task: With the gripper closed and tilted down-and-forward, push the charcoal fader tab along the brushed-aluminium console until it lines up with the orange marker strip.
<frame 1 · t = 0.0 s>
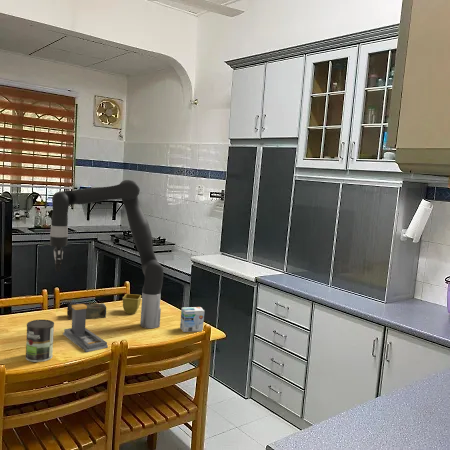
hand: (57, 269, 213), 29 cm above the table, tool pointing down, fingers open, 8 cm apart
beverage carton: (86, 317, 240), on the table
flower pot: (131, 312, 252), on the table
light bulb box: (191, 329, 232), on the table
coffee can: (39, 357, 186), on the table
fader console: (84, 340, 206), on the table
fader tab: (78, 319, 210), point 8 cm above the table, slide at -7.0 cm
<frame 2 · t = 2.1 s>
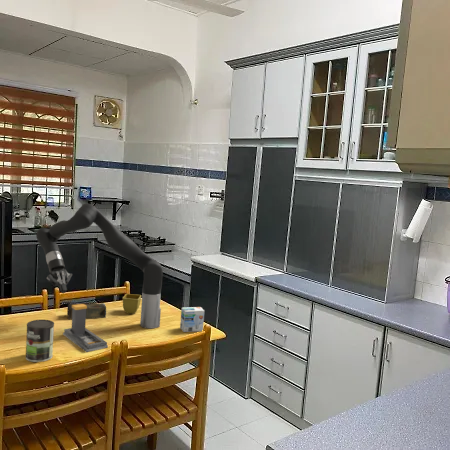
hand: (64, 292, 221), 17 cm above the table, tool tilted 45°, fingers closed
nothing on the table moved.
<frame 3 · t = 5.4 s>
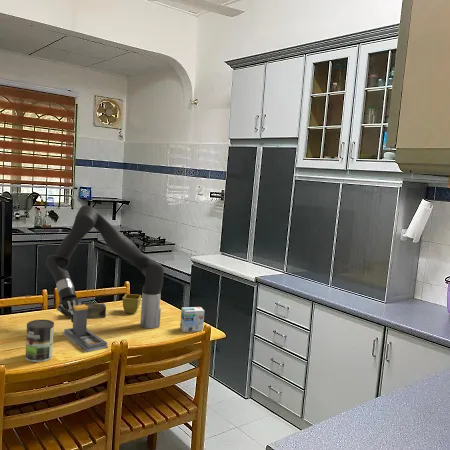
hand: (75, 322, 211), 6 cm above the table, tool tilted 45°, fingers closed
fader tab: (79, 320, 210), point 8 cm above the table, slide at -5.8 cm, touching gripper
everything else where it was.
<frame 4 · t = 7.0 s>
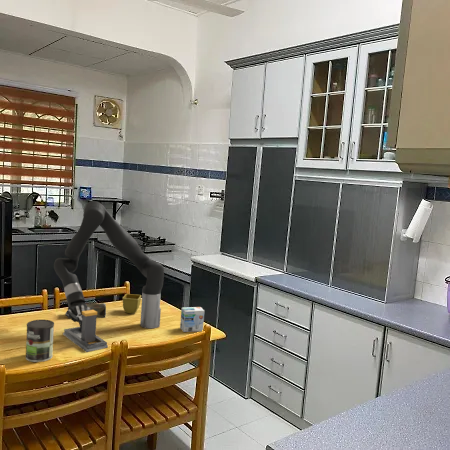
hand: (84, 328, 204), 6 cm above the table, tool tilted 45°, fingers closed
fader tab: (88, 326, 203), point 8 cm above the table, slide at 3.3 cm
everything else where it was.
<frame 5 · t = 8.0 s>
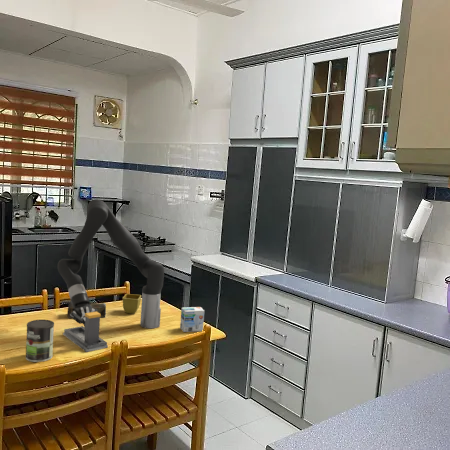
hand: (89, 330, 202), 6 cm above the table, tool tilted 45°, fingers closed
fader tab: (92, 328, 201), point 8 cm above the table, slide at 6.5 cm, touching gripper
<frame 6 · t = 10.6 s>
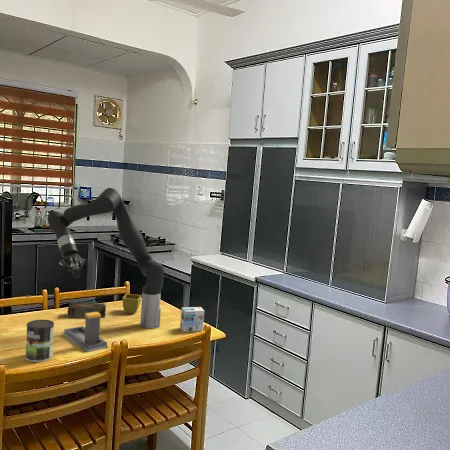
hand: (77, 277, 211), 27 cm above the table, tool tilted 45°, fingers closed
fader tab: (92, 328, 200), point 8 cm above the table, slide at 6.7 cm
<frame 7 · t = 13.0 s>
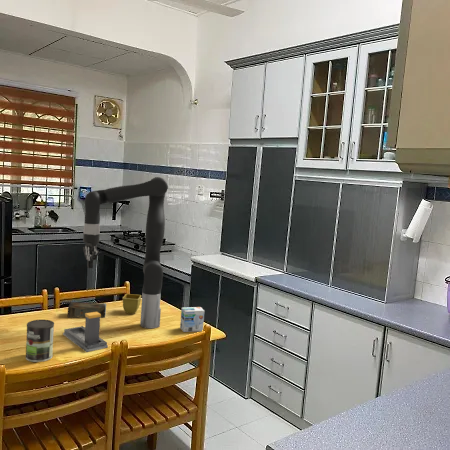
hand: (89, 267, 223), 29 cm above the table, tool pointing down, fingers closed
at the end: fader tab slide at 6.7 cm; fader tab touching nothing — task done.
